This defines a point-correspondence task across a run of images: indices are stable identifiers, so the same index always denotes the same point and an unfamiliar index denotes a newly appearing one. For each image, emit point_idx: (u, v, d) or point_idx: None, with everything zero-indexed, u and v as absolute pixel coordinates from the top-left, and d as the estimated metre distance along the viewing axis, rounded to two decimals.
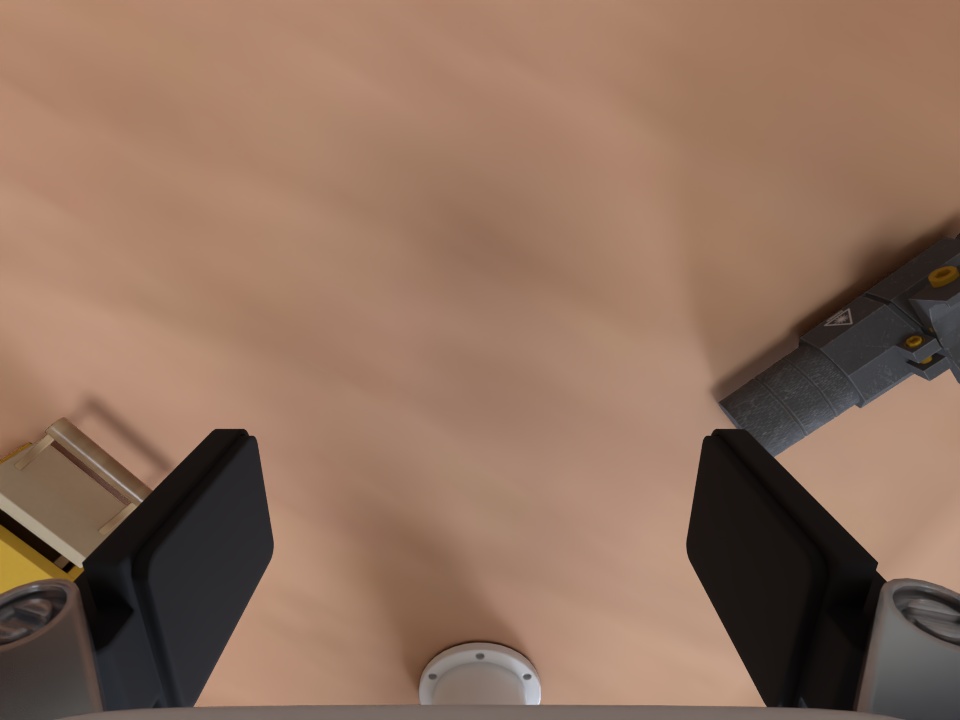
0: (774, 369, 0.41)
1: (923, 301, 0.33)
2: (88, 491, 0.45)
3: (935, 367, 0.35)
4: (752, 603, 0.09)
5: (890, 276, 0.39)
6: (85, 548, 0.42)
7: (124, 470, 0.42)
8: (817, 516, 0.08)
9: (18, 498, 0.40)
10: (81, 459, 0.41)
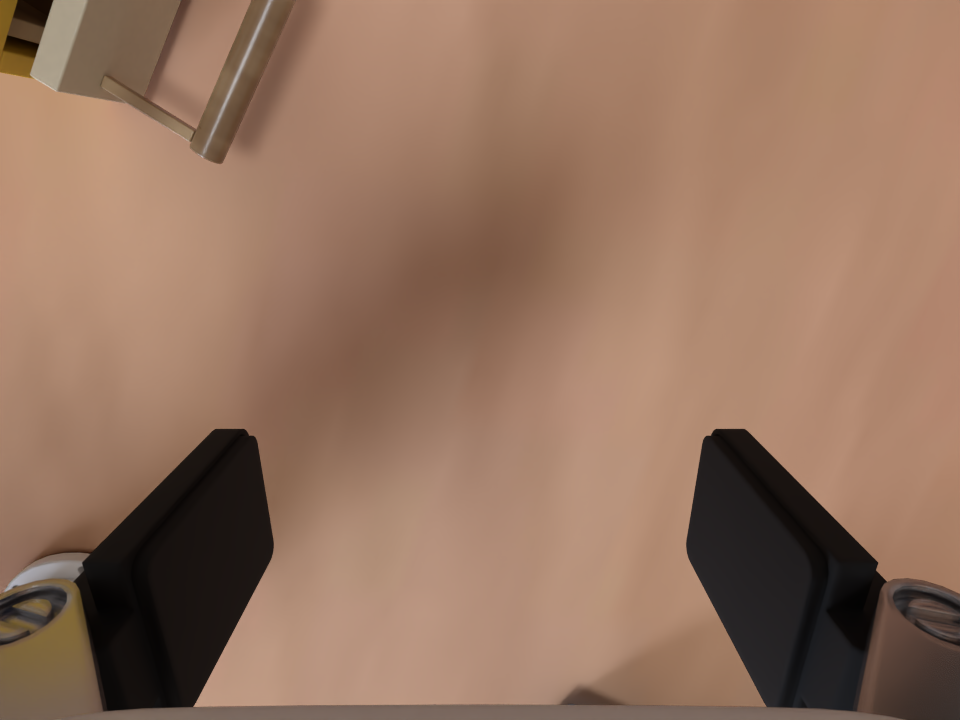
0: None
1: None
2: (155, 27, 0.26)
3: None
4: (751, 603, 0.09)
5: None
6: (73, 75, 0.23)
7: (246, 108, 0.26)
8: (817, 516, 0.08)
9: None
10: (244, 38, 0.24)
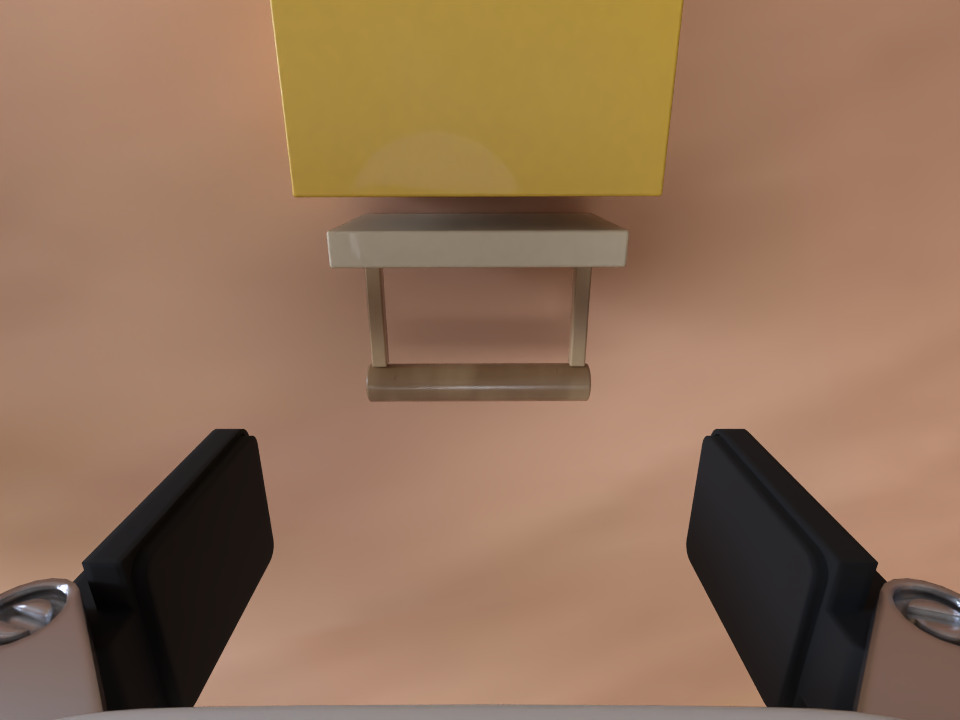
0: None
1: None
2: None
3: None
4: (751, 603, 0.09)
5: None
6: None
7: None
8: (817, 516, 0.08)
9: None
10: (509, 385, 0.21)
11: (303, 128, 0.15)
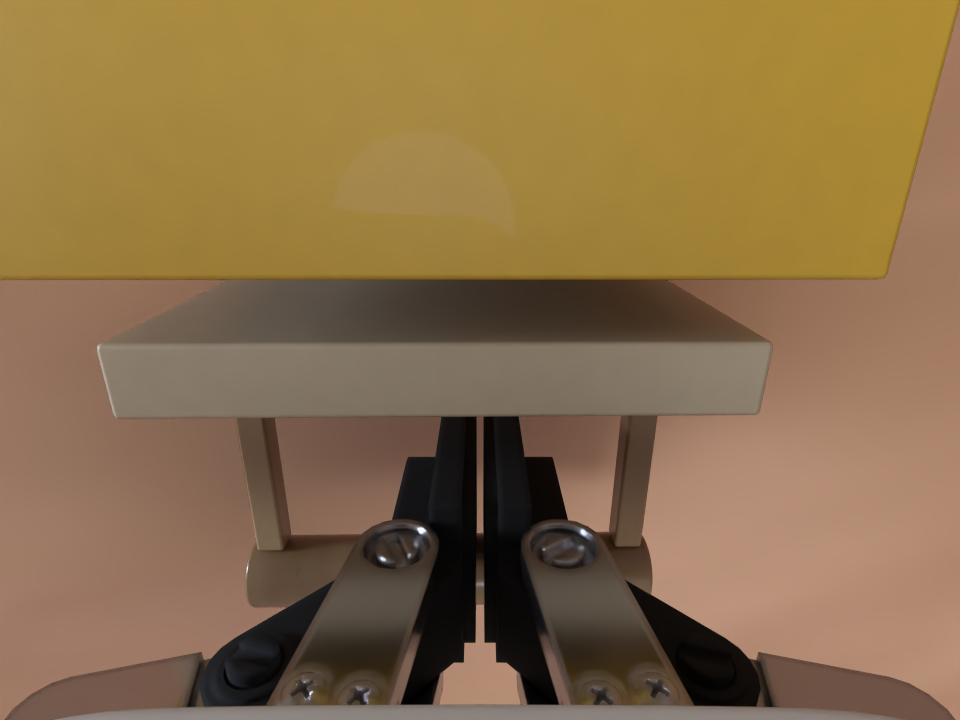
0: None
1: None
2: None
3: None
4: (484, 551, 0.10)
5: None
6: None
7: None
8: (512, 470, 0.09)
9: None
10: None
11: None
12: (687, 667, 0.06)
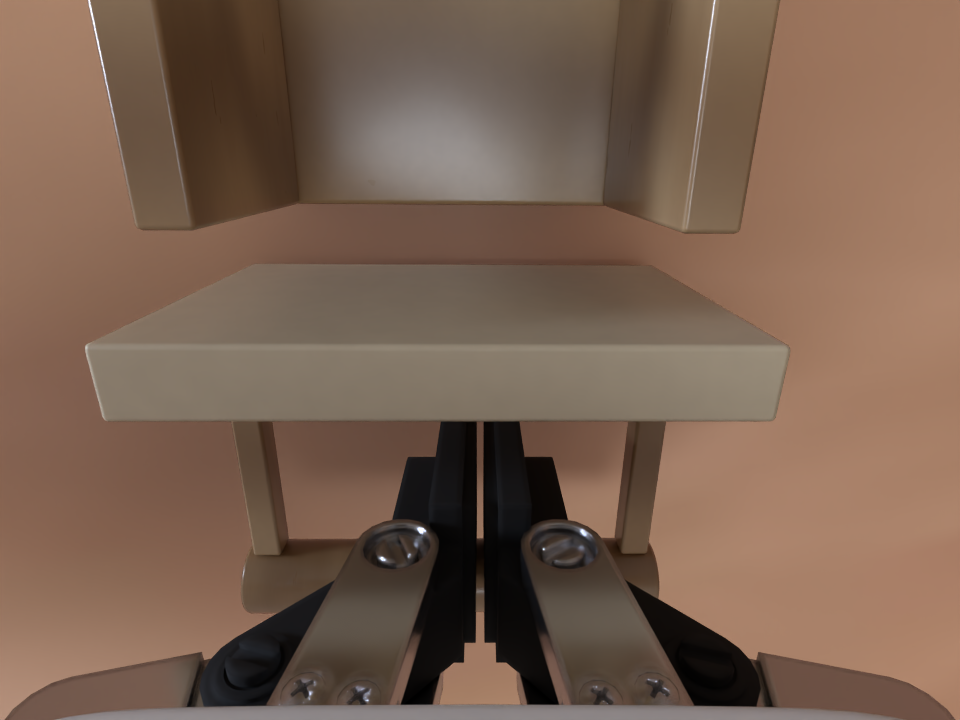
0: None
1: None
2: None
3: None
4: None
5: None
6: None
7: None
8: (513, 470, 0.09)
9: None
10: None
11: None
12: (687, 667, 0.06)
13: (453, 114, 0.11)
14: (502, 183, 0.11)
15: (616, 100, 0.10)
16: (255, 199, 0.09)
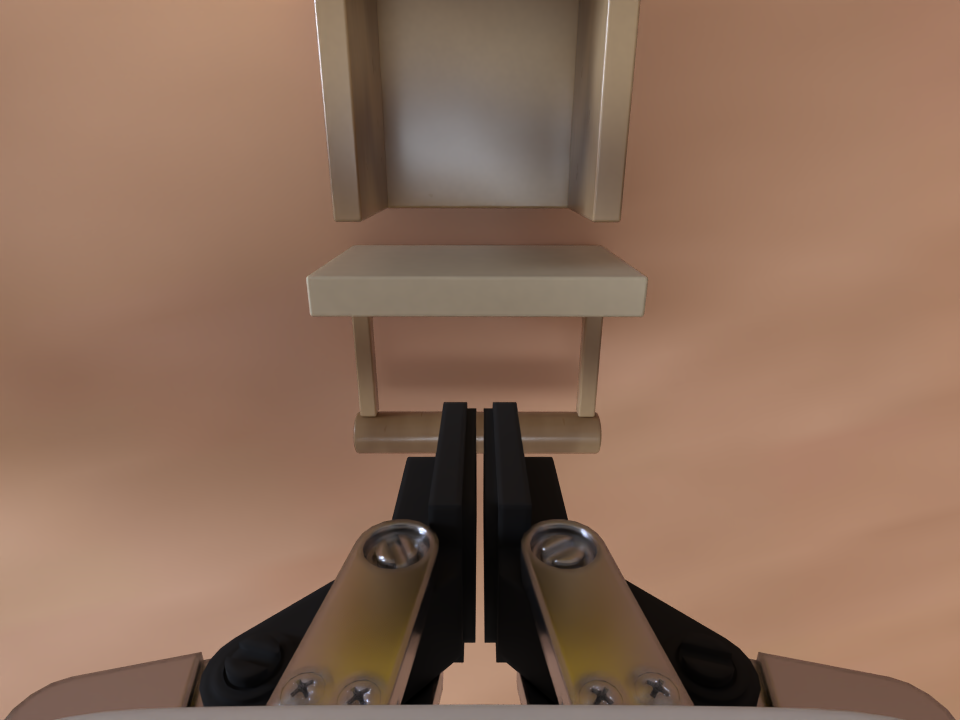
0: None
1: None
2: None
3: None
4: (484, 551, 0.10)
5: None
6: None
7: None
8: (513, 470, 0.09)
9: None
10: None
11: None
12: (687, 667, 0.06)
13: (479, 156, 0.19)
14: (507, 195, 0.19)
15: (572, 148, 0.18)
16: (375, 206, 0.17)
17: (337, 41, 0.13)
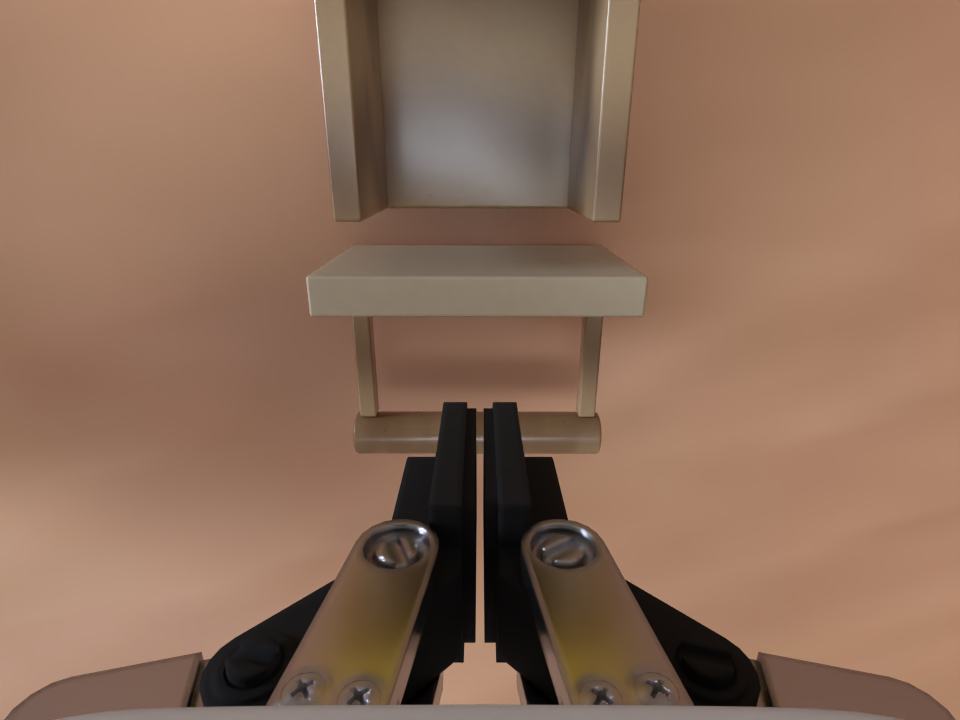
0: None
1: None
2: None
3: None
4: (484, 551, 0.10)
5: None
6: None
7: None
8: (513, 470, 0.09)
9: None
10: None
11: None
12: (687, 667, 0.06)
13: (479, 156, 0.19)
14: (507, 195, 0.19)
15: (572, 148, 0.18)
16: (375, 206, 0.17)
17: (337, 41, 0.13)
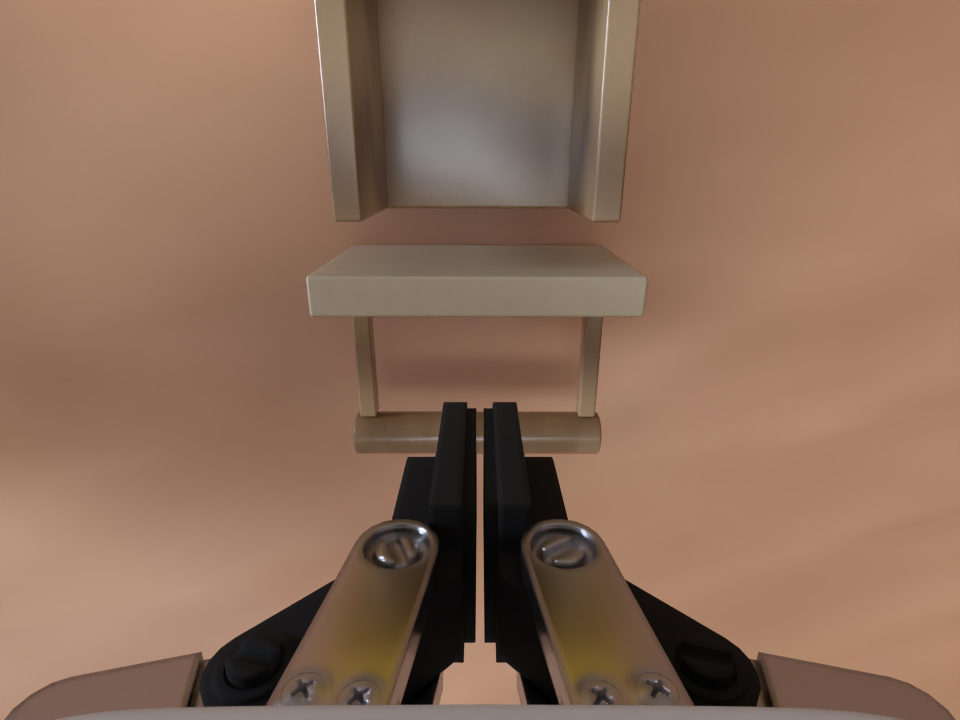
0: None
1: None
2: None
3: None
4: (484, 551, 0.10)
5: None
6: None
7: None
8: (513, 470, 0.09)
9: None
10: None
11: None
12: (687, 667, 0.06)
13: (479, 156, 0.19)
14: (507, 195, 0.19)
15: (572, 148, 0.18)
16: (375, 206, 0.17)
17: (337, 41, 0.13)
